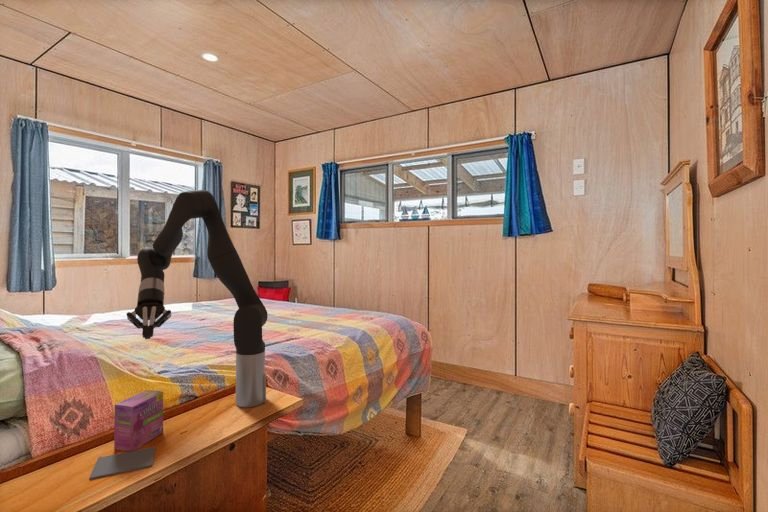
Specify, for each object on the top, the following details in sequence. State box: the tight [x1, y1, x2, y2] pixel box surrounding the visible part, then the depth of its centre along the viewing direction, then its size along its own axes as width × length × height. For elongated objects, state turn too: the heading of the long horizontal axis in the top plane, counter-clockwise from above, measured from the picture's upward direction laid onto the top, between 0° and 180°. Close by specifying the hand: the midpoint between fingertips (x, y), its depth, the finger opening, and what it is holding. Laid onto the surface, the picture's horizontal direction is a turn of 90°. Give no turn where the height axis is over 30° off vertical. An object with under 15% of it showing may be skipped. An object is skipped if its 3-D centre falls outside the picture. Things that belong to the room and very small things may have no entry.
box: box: [113, 389, 164, 452], centre depth 100 cm, size 10×6×12 cm, turn 168°
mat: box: [88, 446, 156, 481], centre depth 90 cm, size 12×9×1 cm
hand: (147, 337), depth 117 cm, fingers closed
